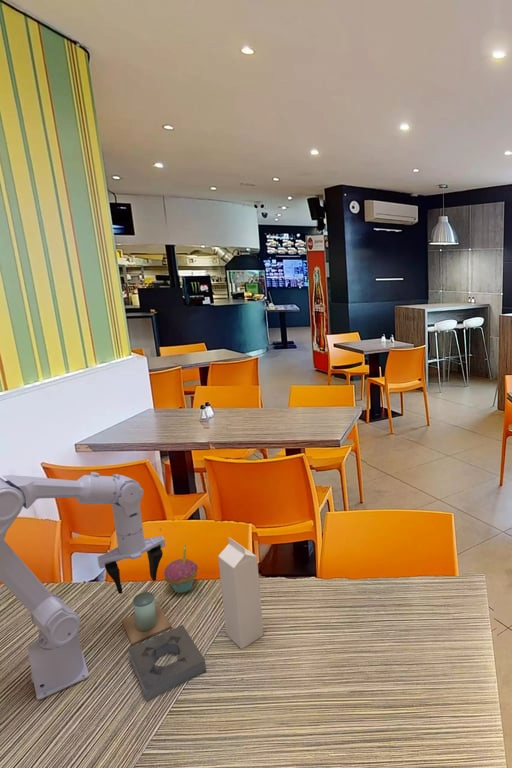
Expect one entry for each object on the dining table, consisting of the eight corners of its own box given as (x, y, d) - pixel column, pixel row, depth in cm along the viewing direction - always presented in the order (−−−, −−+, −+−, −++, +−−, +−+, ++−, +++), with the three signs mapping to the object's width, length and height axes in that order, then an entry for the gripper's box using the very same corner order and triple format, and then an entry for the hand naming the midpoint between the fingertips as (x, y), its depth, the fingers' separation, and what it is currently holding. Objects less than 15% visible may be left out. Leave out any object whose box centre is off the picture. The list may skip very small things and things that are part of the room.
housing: (147, 701, 83) (145, 689, 82) (129, 659, 93) (128, 649, 93) (206, 670, 89) (205, 659, 88) (183, 634, 99) (182, 624, 98)
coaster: (132, 645, 97) (131, 643, 97) (121, 621, 104) (121, 619, 104) (171, 628, 101) (171, 625, 101) (158, 606, 109) (158, 604, 109)
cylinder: (139, 634, 99) (136, 607, 98) (133, 622, 103) (130, 597, 102) (159, 625, 101) (156, 599, 100) (153, 614, 105) (150, 589, 104)
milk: (241, 649, 93) (231, 554, 89) (225, 634, 98) (215, 542, 94) (264, 635, 97) (256, 542, 93) (248, 620, 102) (239, 531, 97)
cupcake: (202, 577, 119) (197, 536, 117) (194, 598, 111) (190, 554, 109) (171, 577, 120) (166, 536, 118) (161, 598, 112) (155, 554, 110)
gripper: (99, 548, 92) (107, 607, 94) (166, 526, 99) (173, 581, 101) (92, 534, 98) (101, 589, 100) (156, 514, 105) (163, 567, 107)
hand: (136, 584), depth 101 cm, fingers open, 7 cm apart
